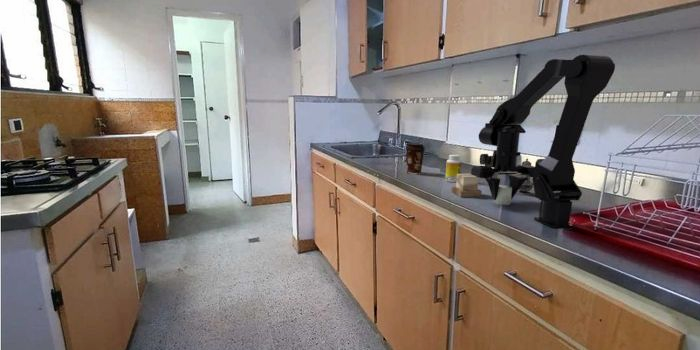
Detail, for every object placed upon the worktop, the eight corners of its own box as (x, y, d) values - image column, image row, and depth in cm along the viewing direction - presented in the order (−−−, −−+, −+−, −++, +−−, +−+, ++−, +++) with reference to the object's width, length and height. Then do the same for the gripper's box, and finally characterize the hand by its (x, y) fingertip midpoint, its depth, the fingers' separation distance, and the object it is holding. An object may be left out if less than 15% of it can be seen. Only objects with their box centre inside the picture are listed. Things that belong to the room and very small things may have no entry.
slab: (480, 198, 108) (481, 190, 108) (460, 198, 107) (461, 191, 107) (470, 193, 115) (470, 185, 115) (451, 193, 114) (451, 186, 114)
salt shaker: (535, 196, 110) (539, 159, 107) (516, 195, 111) (520, 159, 109) (529, 192, 115) (533, 157, 113) (511, 191, 116) (515, 156, 114)
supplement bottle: (459, 182, 129) (461, 156, 127) (444, 181, 131) (446, 155, 129) (460, 180, 134) (462, 154, 132) (446, 179, 136) (448, 153, 134)
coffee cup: (400, 171, 151) (401, 143, 148) (415, 170, 154) (416, 142, 152) (411, 175, 143) (412, 144, 140) (427, 174, 146) (429, 144, 144)
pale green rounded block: (513, 204, 99) (515, 188, 98) (498, 205, 99) (500, 188, 98) (504, 200, 104) (506, 184, 103) (490, 200, 103) (491, 185, 102)
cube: (477, 190, 109) (478, 176, 108) (462, 190, 108) (463, 176, 107) (470, 186, 114) (471, 173, 113) (456, 187, 113) (456, 173, 112)
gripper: (519, 144, 107) (514, 192, 110) (464, 145, 105) (460, 193, 108) (543, 148, 97) (537, 201, 100) (483, 149, 94) (478, 203, 97)
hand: (502, 199), depth 101 cm, fingers closed on pale green rounded block, 5 cm apart
